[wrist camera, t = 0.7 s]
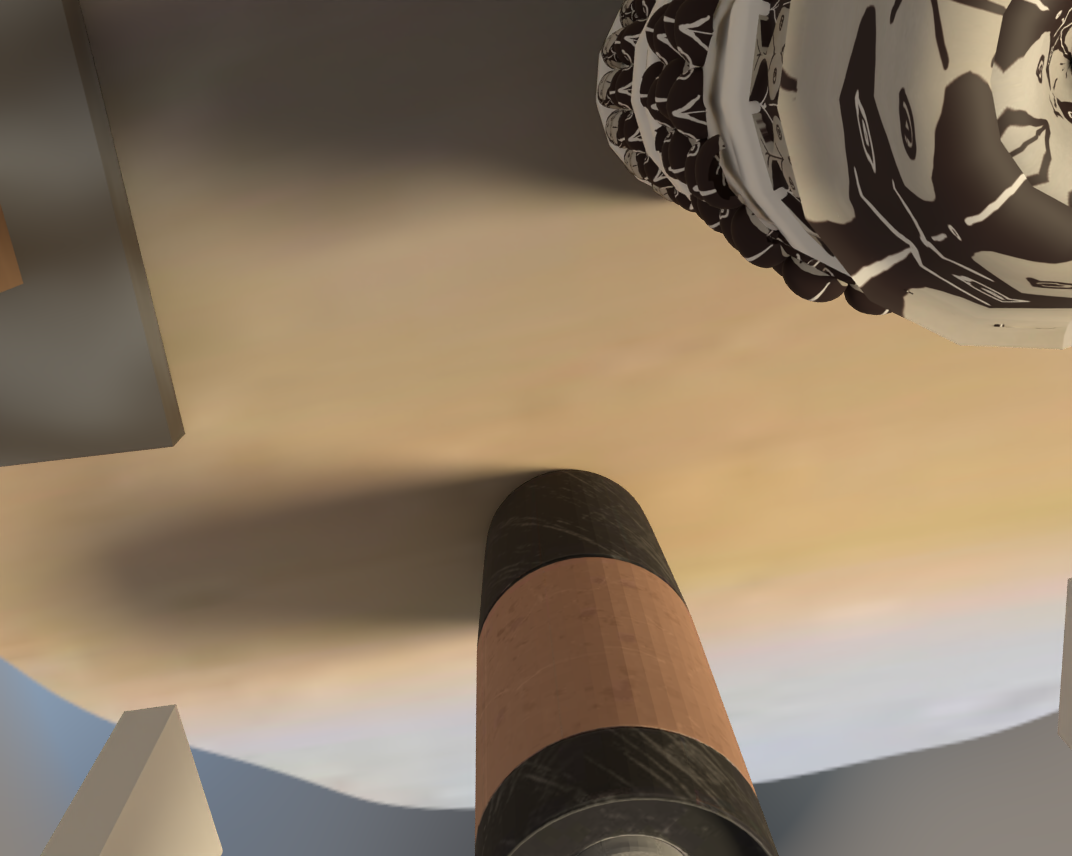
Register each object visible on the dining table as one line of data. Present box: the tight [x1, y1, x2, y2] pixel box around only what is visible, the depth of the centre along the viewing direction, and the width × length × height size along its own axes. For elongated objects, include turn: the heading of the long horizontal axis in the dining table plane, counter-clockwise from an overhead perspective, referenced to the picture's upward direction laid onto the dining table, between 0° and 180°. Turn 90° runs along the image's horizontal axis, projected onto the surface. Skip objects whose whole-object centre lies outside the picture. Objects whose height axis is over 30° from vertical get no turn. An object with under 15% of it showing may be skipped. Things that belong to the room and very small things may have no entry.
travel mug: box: [475, 470, 779, 856], centre depth 32 cm, size 8×8×20 cm
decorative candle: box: [596, 0, 1072, 350], centre depth 23 cm, size 9×9×25 cm
